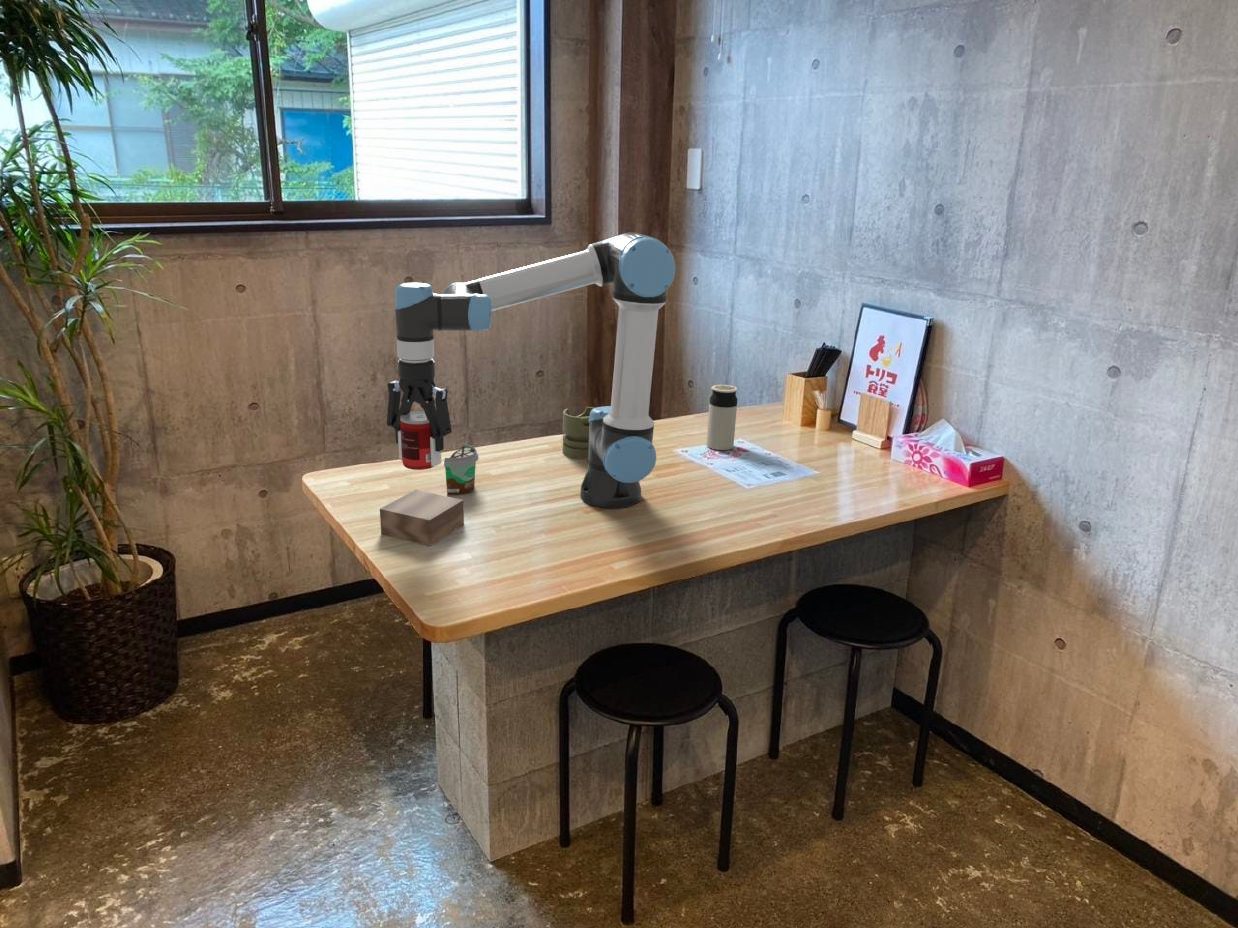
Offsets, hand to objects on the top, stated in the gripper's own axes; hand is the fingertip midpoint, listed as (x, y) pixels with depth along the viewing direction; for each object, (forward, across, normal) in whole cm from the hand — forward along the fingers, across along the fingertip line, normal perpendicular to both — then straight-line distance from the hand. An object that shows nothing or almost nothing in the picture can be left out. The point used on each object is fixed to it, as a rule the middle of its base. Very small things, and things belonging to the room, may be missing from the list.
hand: (420, 461), depth 192 cm
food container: (+16, +5, -25) cm, 30 cm away
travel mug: (+16, -41, -90) cm, 100 cm away
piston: (+16, -8, -65) cm, 68 cm away
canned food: (+1, 0, 0) cm, 1 cm away
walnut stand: (+16, 0, 0) cm, 16 cm away
